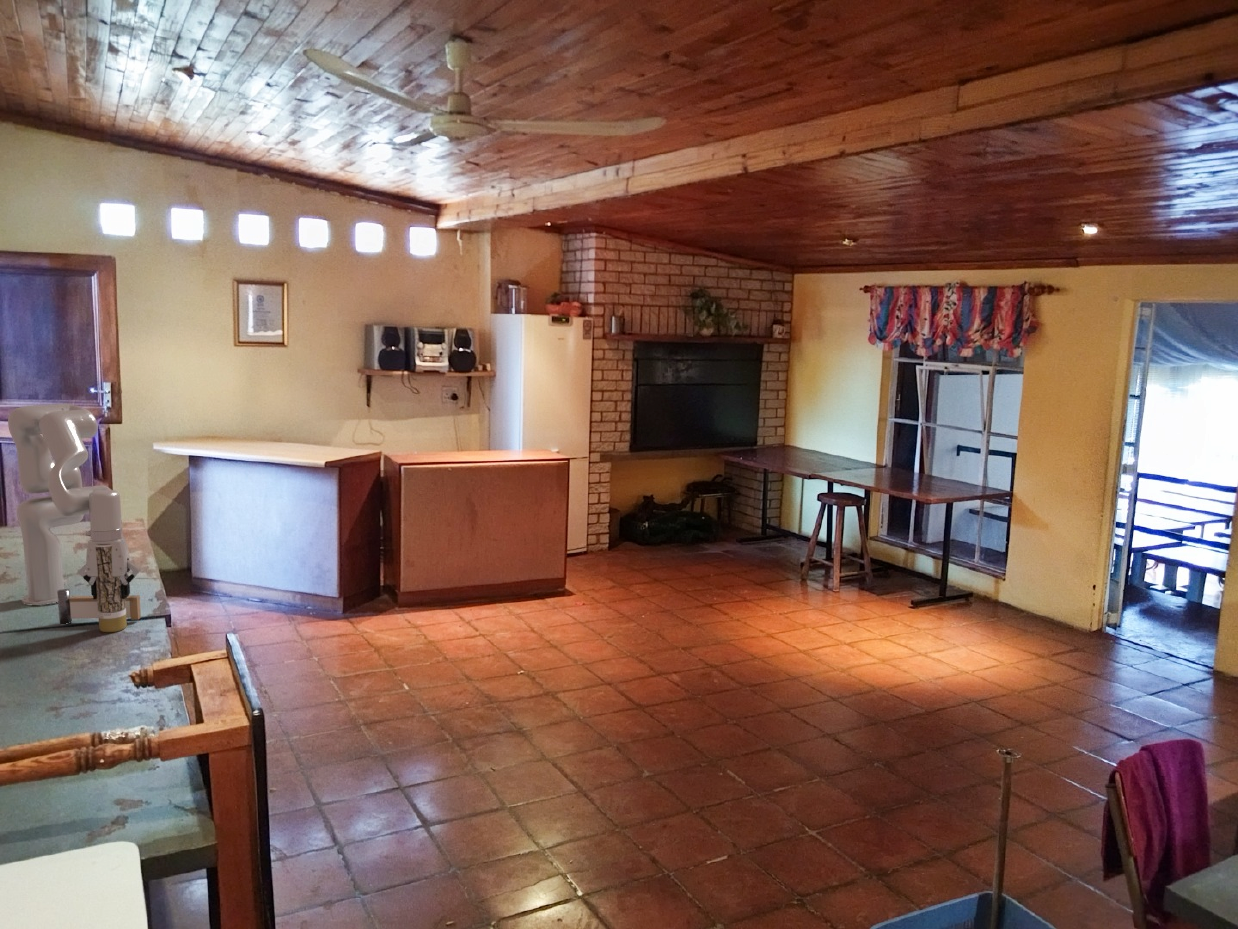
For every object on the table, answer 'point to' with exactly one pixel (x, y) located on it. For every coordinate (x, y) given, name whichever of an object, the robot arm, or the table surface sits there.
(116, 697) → the table surface
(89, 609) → the gate
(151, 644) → the table surface
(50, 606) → the table surface
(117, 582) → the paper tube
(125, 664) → the table surface
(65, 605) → the hinge post
